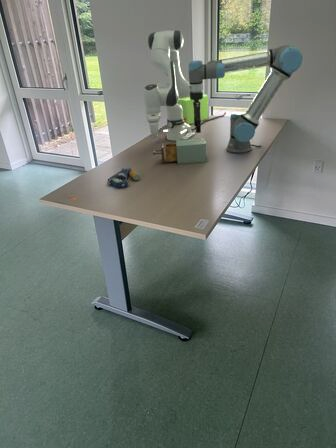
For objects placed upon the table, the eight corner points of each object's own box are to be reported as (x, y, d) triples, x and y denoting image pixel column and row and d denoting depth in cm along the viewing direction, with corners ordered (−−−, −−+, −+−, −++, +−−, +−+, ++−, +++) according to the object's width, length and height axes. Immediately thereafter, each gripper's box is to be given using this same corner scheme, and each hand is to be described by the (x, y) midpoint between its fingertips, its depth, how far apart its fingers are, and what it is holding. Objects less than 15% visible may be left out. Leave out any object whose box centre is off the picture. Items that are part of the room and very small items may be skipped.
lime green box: (191, 115, 302) (190, 88, 290) (208, 118, 288) (208, 90, 276) (170, 121, 289) (168, 93, 277) (187, 125, 275) (185, 95, 263)
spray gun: (146, 174, 192) (124, 172, 198) (145, 167, 190) (123, 165, 196) (127, 190, 176) (104, 187, 183) (125, 183, 174) (102, 180, 181)
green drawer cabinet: (177, 163, 203) (176, 145, 198) (177, 157, 212) (176, 140, 207) (206, 161, 203) (205, 143, 197) (204, 155, 212) (204, 138, 206)
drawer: (153, 163, 204) (152, 149, 199) (154, 158, 212) (152, 144, 207) (188, 161, 203) (188, 146, 198) (188, 155, 211) (187, 141, 206)
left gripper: (149, 111, 203) (151, 134, 210) (147, 119, 185) (150, 144, 192) (159, 110, 202) (161, 133, 209) (158, 119, 185) (160, 143, 192)
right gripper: (188, 88, 198) (190, 124, 209) (190, 96, 176) (192, 136, 187) (201, 87, 197) (202, 123, 208) (205, 95, 176) (205, 135, 187)
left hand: (156, 138), depth 201 cm, fingers closed
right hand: (197, 129), depth 198 cm, fingers open, 13 cm apart
